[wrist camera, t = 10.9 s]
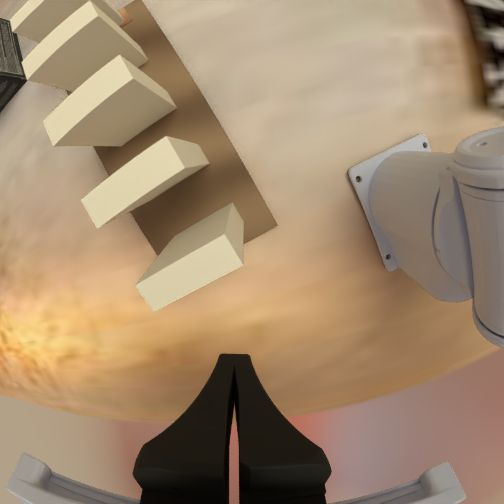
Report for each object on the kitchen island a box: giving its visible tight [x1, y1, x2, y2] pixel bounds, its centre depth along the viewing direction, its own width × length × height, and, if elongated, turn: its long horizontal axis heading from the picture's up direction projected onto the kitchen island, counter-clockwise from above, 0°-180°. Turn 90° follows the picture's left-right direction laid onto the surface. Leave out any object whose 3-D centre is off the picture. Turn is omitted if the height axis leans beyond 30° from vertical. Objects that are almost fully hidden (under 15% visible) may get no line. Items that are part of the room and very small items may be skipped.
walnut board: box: [66, 0, 278, 255], centre depth 18 cm, size 22×9×1 cm, turn 29°
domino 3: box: [43, 55, 177, 146], centre depth 14 cm, size 2×5×8 cm, turn 119°
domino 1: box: [10, 0, 125, 43], centre depth 11 cm, size 2×5×8 cm, turn 120°
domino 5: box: [135, 202, 244, 312], centre depth 16 cm, size 2×5×8 cm, turn 119°
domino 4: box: [81, 136, 210, 229], centre depth 15 cm, size 2×5×8 cm, turn 119°
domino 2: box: [21, 1, 149, 92], centre depth 12 cm, size 2×5×8 cm, turn 119°
